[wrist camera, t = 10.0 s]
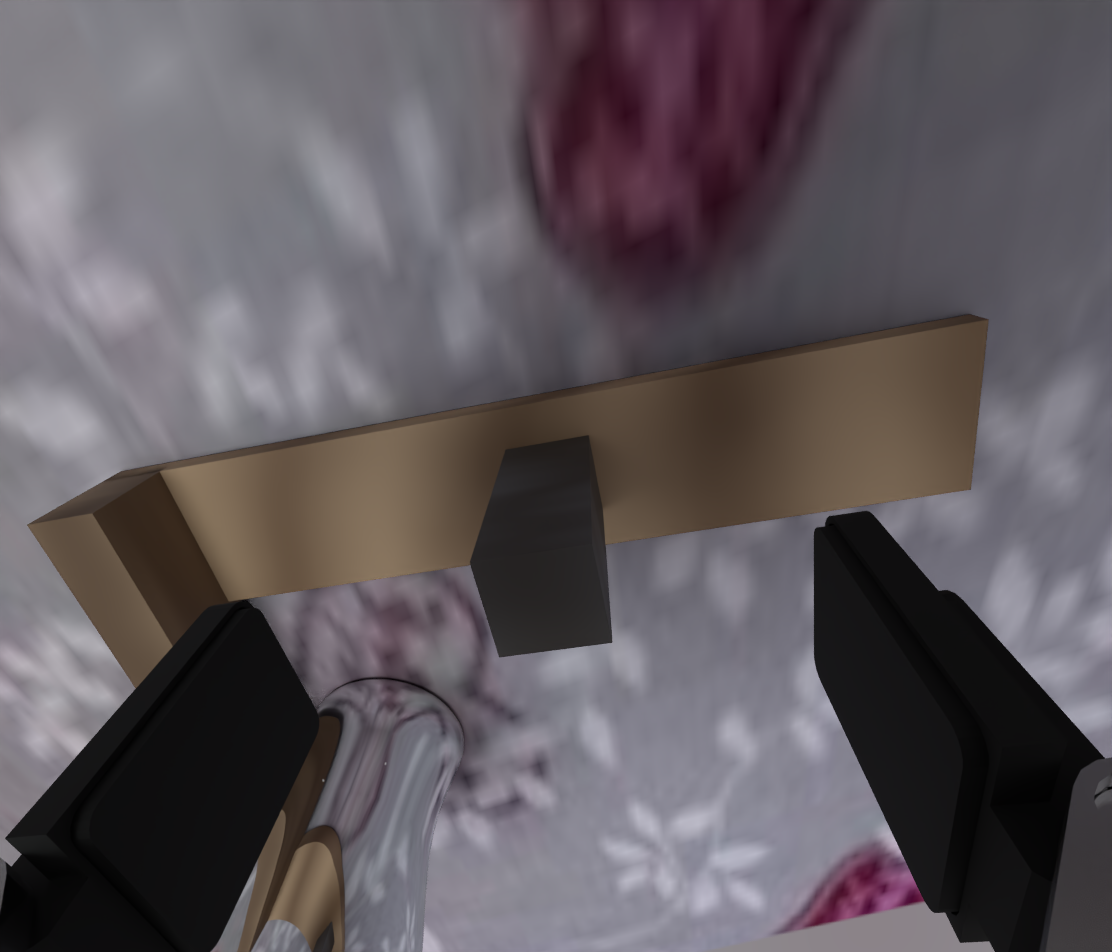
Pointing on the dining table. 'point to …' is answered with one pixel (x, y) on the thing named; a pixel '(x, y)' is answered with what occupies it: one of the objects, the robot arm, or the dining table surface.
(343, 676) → the dining table surface
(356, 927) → the beer glass
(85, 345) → the dining table surface
